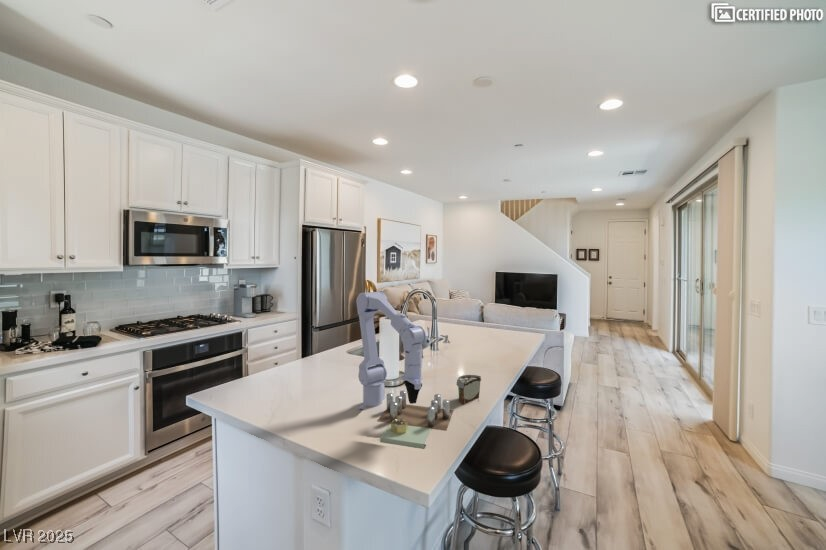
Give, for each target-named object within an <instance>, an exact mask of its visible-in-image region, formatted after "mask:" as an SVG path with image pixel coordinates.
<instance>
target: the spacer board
mask: <svg viewBox="0 0 826 550" xmlns="http://www.w3.org/2000/svg"><path fill="white" fill-rule="evenodd" d="M428 407H429V406H423V405H416V404H415V405H413V404H408V403H406V408H405V409H402V415H397V419H401V418H402V419H404V420H406V421H408V425H409V426H416V427H423V428H430V429H431V430H437V431H447V430H448V427H449V424H450V422H451V418H452V415H453V413H454V409H449V419H443V418H442V411H443V408H441V412H440V413H438V419H437V420H435V426H434V427H428V426H427V416H428ZM376 422H378V423H379V422H380V423H386V424H387V423H388V424H390V423H392V422H391V421H390V412H387V408H386V409H385V410H384V411H383V412H382V414H381V415H380V416H379V417H378V419H377V420H376Z"/></svg>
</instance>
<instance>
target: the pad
mask: <svg viewBox="0 0 826 550" xmlns="http://www.w3.org/2000/svg"><path fill="white" fill-rule="evenodd" d="M431 430H432V429H430V428H423V427H416V426H409V425H408V430H407V432H406V433H403V434H395V433H393V432H391V423H389V425H388V426H387V427H386V429H385V430H384V431H383V433H382V435H380V438H379V439H380V440H379V442H380V443H383V444H390V445H395V446H401V447H402V446H403V447H409V448H415V449H421V450H425V448H426V446H427V444H425V443H426V441H427V439H428V437H429V434H430V432H431Z"/></svg>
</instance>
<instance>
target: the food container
mask: <svg viewBox="0 0 826 550" xmlns="http://www.w3.org/2000/svg"><path fill="white" fill-rule="evenodd" d="M481 381H482V376H480V375H476V374H465V375H464V374H463V375H461V376H458V377H457V379H456V386H457V388H458V401H459V403H461V404H462V405H466V404H469V403H470V402H472V401H475V400H477V402H480V389H481Z"/></svg>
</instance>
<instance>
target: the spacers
mask: <svg viewBox="0 0 826 550" xmlns="http://www.w3.org/2000/svg"><path fill="white" fill-rule="evenodd" d="M441 400H442V395H441V394H439V393H435V394H434V395H433V399H432V400H431V401H430V406H427V407H428V416H427V426H428V427H434V426H435V420H437V419H438V413H440V412H441V409H443V411H442V418H443V419H449V410H450V404H451V403H450V400H449V399H443V400H442V402H441ZM406 404H407V390H404V389H403V390H400V391H399V395H397V396H395V401H394V394H393V393H391V392H390V393H389V392H388V393H386V409H387V412H390V421H391V422H392V421H393V420H394V419H397V415H402V409H405V408H406Z"/></svg>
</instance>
